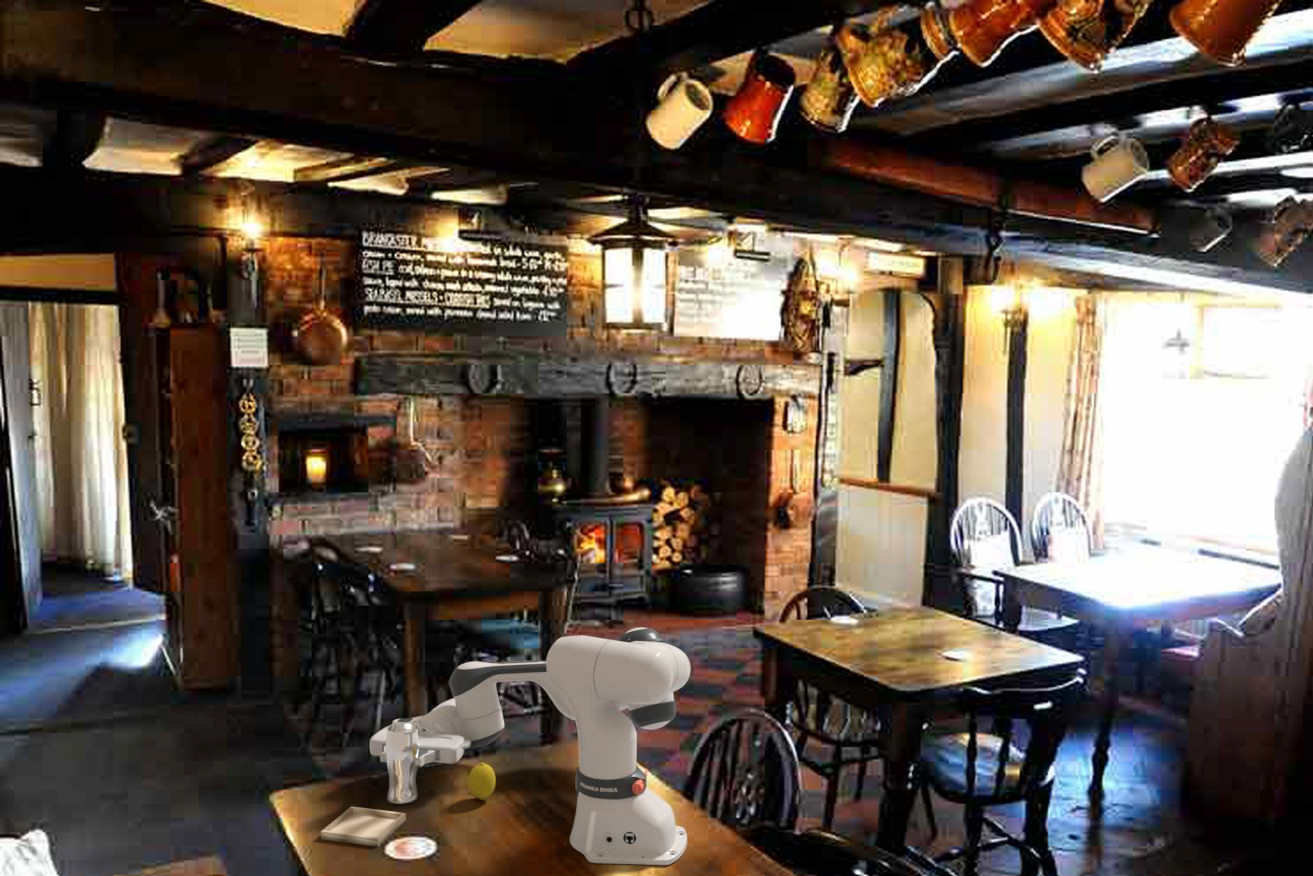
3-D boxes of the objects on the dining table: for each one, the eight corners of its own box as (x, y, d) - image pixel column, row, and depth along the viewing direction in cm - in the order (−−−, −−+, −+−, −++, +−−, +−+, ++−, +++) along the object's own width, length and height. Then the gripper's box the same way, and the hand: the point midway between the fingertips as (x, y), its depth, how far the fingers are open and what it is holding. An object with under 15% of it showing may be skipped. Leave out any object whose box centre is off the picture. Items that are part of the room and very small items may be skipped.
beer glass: (410, 806, 201) (411, 734, 200) (379, 803, 203) (379, 731, 202) (425, 793, 208) (426, 723, 207) (394, 789, 210) (395, 720, 209)
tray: (405, 820, 196) (405, 813, 196) (377, 846, 186) (377, 839, 185) (351, 813, 199) (351, 806, 199) (320, 839, 188) (320, 831, 188)
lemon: (463, 802, 205) (463, 765, 204) (479, 792, 210) (479, 755, 209) (484, 808, 202) (484, 770, 202) (501, 797, 207) (501, 760, 206)
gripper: (474, 754, 215) (446, 780, 202) (389, 745, 220) (356, 770, 207) (474, 726, 215) (446, 750, 201) (388, 718, 220) (356, 741, 206)
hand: (400, 760), depth 204 cm, fingers closed on beer glass, 6 cm apart
